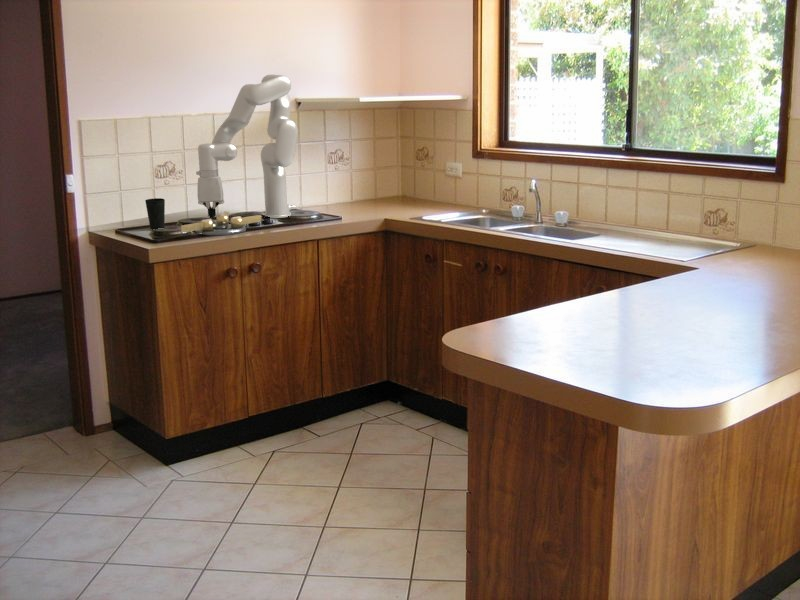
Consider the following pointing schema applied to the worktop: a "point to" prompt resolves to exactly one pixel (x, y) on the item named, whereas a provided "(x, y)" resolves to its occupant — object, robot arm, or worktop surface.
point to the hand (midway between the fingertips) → (212, 217)
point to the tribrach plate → (222, 230)
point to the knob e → (198, 226)
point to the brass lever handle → (244, 220)
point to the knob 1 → (223, 218)
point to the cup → (156, 212)
